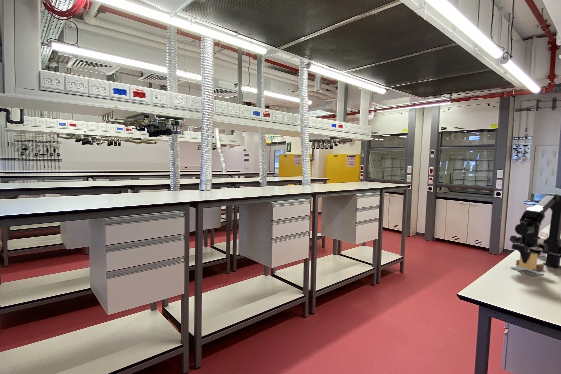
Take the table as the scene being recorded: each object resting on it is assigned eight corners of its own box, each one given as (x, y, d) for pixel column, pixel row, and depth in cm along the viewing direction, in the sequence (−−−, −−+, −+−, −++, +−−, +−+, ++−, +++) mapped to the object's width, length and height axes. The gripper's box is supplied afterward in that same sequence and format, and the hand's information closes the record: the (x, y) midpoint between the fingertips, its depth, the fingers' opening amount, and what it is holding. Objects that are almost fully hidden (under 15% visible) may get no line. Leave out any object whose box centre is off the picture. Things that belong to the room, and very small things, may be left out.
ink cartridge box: (528, 252, 192) (531, 229, 191) (537, 253, 191) (540, 230, 190) (536, 256, 184) (539, 233, 183) (546, 257, 183) (549, 233, 182)
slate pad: (520, 267, 162) (521, 266, 162) (543, 275, 152) (544, 273, 152) (510, 268, 160) (510, 267, 160) (533, 276, 149) (533, 275, 149)
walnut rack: (526, 264, 168) (526, 258, 168) (543, 269, 160) (544, 264, 160) (515, 265, 166) (516, 259, 165) (532, 270, 158) (533, 265, 157)
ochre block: (525, 265, 159) (527, 250, 158) (535, 268, 154) (537, 253, 153) (518, 266, 157) (520, 251, 157) (529, 269, 153) (531, 254, 152)
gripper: (527, 229, 164) (523, 256, 166) (502, 230, 159) (499, 258, 160) (550, 234, 154) (546, 263, 155) (525, 236, 148) (521, 266, 150)
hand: (527, 262), depth 155 cm, fingers closed on ochre block, 5 cm apart
